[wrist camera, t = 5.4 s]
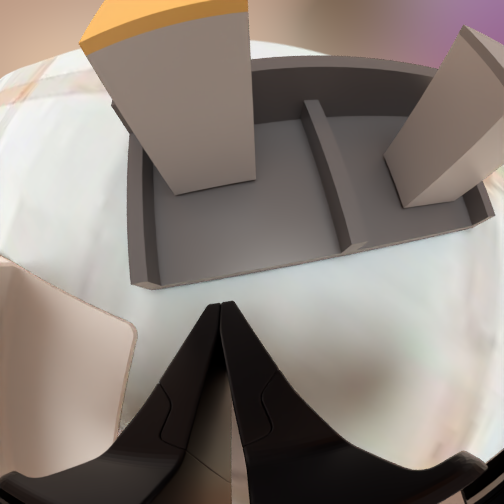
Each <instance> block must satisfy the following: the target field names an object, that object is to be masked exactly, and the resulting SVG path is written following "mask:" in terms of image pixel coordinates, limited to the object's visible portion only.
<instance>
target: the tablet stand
mask: <svg viewBox="0 0 504 504" xmlns="http://www.w3.org/2000/svg"><path fill="white" fill-rule="evenodd" d="M136 341H137V330H136V328H135V326H134V325H133V324H132V323H130V322H128V321H125V320H123V319H121V318H119V317H116V316H114V315H112V314H110V313H107V312H105V311H103V310H101V309H99V308H97V307H95V306H92V305H90V304H88V303H86V302H84V301H82V300H80V299H78V298H76V297H74V296H72V295H70V294H68V293H66V292H65V291H63V290H61V289H59V288H57V287H55V286H53V285H51V284H50V283H48V282H46V281H44V280H43V279H41V278H39V277H37V276H36V275H34V274H32V273H30V272H29V271H27V270H25V269H24V268H22V267H21V266H19V265H17V264H16V263H14V262H13V261H11V260H9V259H7V258H4V257H2V256H0V477H1V476H3V475H5V474H6V473H9V472H11V471H17V472H19V473H21V474H23V475H25V476H27V477H32V478H38V477H44V476H48V475H51V474H54V473H57V472H60V471H63V470H66V469H69V468H72V467H74V466H77V465H80V464H82V463H85V462H88V461H90V460H93V459H95V458H97V457H98V456H100V455H101V454H103V453H104V452H105V451H106V450H107V449H108V448H109V447H110V446H111V445H112V444H113V443H114V442H115V440H116V439H117V435H118V428H119V422H120V416H121V410H122V405H123V400H124V394H125V389H126V385H127V380H128V375H129V371H130V366H131V362H132V357H133V353H134V349H135V345H136Z"/></svg>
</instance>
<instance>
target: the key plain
mask: <svg viewBox="0 0 504 504" xmlns="http://www.w3.org/2000/svg"><path fill="white" fill-rule="evenodd" d="M384 157H385V160H386V162H387V165H388V167H389V169H390V172H391V175H392V177H393V180H394V182H395V185H396V188H397V190H398V193H399V196H400V199H401V202H402V205H403V208H408V207H415V206H422V205H428V204H436V203H443V202H450V201H455V200H456V199H458V198H459V197H460V196H462V195H463V194H465V193H466V192H467V191H469V190H470V189H472V188H473V187H474V186H476V185H477V184H478V183H480V182H481V181H482V180H484V179H485V178H486V177H488V176H489V175H490V174H492V173H493V172H494V171H496V170H497V169H498V168H499V167H501V166H502V165H503V164H504V46H503V45H502V44H500V43H498V42H496V41H495V40H493V39H491V38H489V37H488V36H486V35H484V34H482V33H480V32H478V31H476V30H474V29H472V28H469V27H468V26H465V25H463V27H462V28H461V30H460V32H459V34H458V36H457V37H456V39H455V41H454V43H453V45H452V47H451V48H450V50H449V52H448V54H447V55H446V57H445V59H444V61H443V62H442V64H441V66H440V67H439V69H438V71H437V72H436V74H435V76H434V77H433V79H432V81H431V82H430V84H429V86H428V87H427V89H426V91H425V92H424V94H423V95H422V97H421V99H420V100H419V102H418V103H417V105H416V106H415V108H414V110H413V111H412V113H411V114H410V116H409V117H408V119H407V120H406V122H405V124H404V125H403V127H402V128H401V130H400V131H399V133H398V134H397V136H396V137H395V139H394V140H393V142H392V143H391V145H390V146H389V148H388V149H387V150H386V152H385V153H384Z"/></svg>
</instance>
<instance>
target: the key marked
mask: <svg viewBox="0 0 504 504" xmlns="http://www.w3.org/2000/svg"><path fill="white" fill-rule="evenodd" d="M79 45H80V47H81V48H82V50H83V52H84V54H85V55H86V57H87V59H88V60H89V62H90V64H91V65H92V67H93V69H94V70H95V72H96V74H97V75H98V77H99V79H100V80H101V82H102V83H103V85H104V87H105V88H106V90H107V92H108V93H109V95H110V96H111V98H112V100H113V101H114V103H115V104H116V106H117V108H118V109H119V111H120V112H121V114H122V116H123V117H124V119H125V120H126V122H127V123H128V125H129V127H130V128H131V130H132V131H133V133H134V134H135V136H136V137H137V139H138V140H139V142H140V144H141V145H142V147H143V148H144V150H145V151H146V153H147V154H148V156H149V157H150V159H151V160H152V162H153V163H154V165H155V166H156V168H157V169H158V171H159V172H160V174H161V175H162V177H163V178H164V180H165V181H166V183H167V184H168V186H169V187H170V189H171V190H172V192H173V193H174V194H175V195H178V194H183V193H188V192H192V191H197V190H202V189H207V188H212V187H217V186H222V185H227V184H233V183H238V182H244V181H249V180H255V179H256V166H255V142H254V120H253V98H252V77H251V56H250V37H249V19H248V0H105V1H104V3H103V4H102V5H101V7H100V9H99V10H98V12H97V13H96V15H95V16H94V18H93V20H92V21H91V23H90V24H89V26H88V28H87V29H86V31H85V33H84V34H83V36H82V38H81V40H80V41H79Z"/></svg>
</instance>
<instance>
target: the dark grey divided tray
mask: <svg viewBox="0 0 504 504" xmlns="http://www.w3.org/2000/svg"><path fill="white" fill-rule="evenodd" d="M437 71H438V69H436V68H431V67H426V66H421V65H416V64H411V63H404V62H398V61H392V60H384V59H375V58H364V57H350V56H286V57H272V58H261V59H252V60H251V77H252V98H253V120H254V142H255V166H256V179H255V180H249V181H244V182H238V183H233V184H227V185H222V186H217V187H212V188H207V189H202V190H197V191H192V192H188V193H183V194H178V195H175V194H174V193H173V192H172V190H171V189H170V187H169V186H168V184H167V183H166V181H165V180H164V178H163V177H162V175H161V174H160V172H159V171H158V169H157V168H156V166H155V165H154V163H153V162H152V160H151V159H150V157H149V156H148V154H147V153H146V151H145V150H144V148H143V147H142V145H141V144H140V142H139V140H138V139H137V137H136V136H135V134H134V133H133V131H132V130H131V128H130V127H129V125H128V123H127V122H126V120H125V119H124V117H123V116H122V114H121V112H120V111H119V109H118V108H117V106H116V104H115V103H114V101H113V100H112V104H111V106H112V108H113V109H114V111H115V112H116V114H117V115H118V117H119V118H120V120H121V121H122V123H123V125H124V126H125V128H126V129H127V131H128V132H129V134H130V136H129V150H128V169H127V234H128V254H129V269H130V280H131V284H132V285H135V286H139V287H142V288H146V289H150V290H156V289H162V288H168V287H174V286H180V285H186V284H192V283H198V282H204V281H210V280H216V279H221V278H227V277H233V276H238V275H244V274H250V273H255V272H261V271H266V270H272V269H277V268H282V267H288V266H293V265H298V264H303V263H309V262H314V261H319V260H324V259H329V258H334V257H339V256H344V255H349V254H354V253H359V252H364V251H369V250H374V249H378V248H383V247H388V246H393V245H397V244H402V243H407V242H411V241H416V240H420V239H425V238H429V237H434V236H438V235H443V234H447V233H452V232H456V231H460V230H465V229H469V228H473V227H475V226H477V225H478V224H480V223H482V222H484V221H486V220H488V219H490V218H492V217H493V216H495V213H494V210H493V207H492V204H491V202H490V199H489V196H488V193H487V191H486V188H485V186H484V183H483V181H481V182H480V183H478V184H477V185H476V186H474V187H473V188H472V189H470V190H469V191H467V192H466V193H465V194H463V195H462V196H460V197H459V198H458V199H456V200H455V201H450V202H443V203H436V204H428V205H422V206H415V207H408V208H403V205H402V202H401V199H400V196H399V193H398V190H397V188H396V185H395V182H394V180H393V177H392V175H391V172H390V169H389V167H388V165H387V162H386V160H385V157H384V153H385V152H386V150H387V149H388V148H389V146H390V145H391V143H392V142H393V140H394V139H395V137H396V136H397V134H398V133H399V131H400V130H401V128H402V127H403V125H404V124H405V122H406V120H407V119H408V117H409V116H410V114H411V113H412V111H413V110H414V108H415V106H416V105H417V103H418V102H419V100H420V99H421V97H422V95H423V94H424V92H425V91H426V89H427V87H428V86H429V84H430V82H431V81H432V79H433V77H434V76H435V74H436V72H437Z"/></svg>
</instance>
